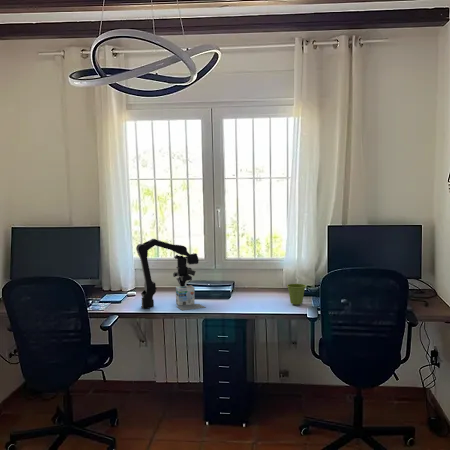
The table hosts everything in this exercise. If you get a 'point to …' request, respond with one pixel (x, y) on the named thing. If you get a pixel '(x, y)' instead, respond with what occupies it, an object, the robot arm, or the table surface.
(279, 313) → the table surface
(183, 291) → the light bulb box
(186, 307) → the slate mat
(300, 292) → the plant pot
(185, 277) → the robot arm
